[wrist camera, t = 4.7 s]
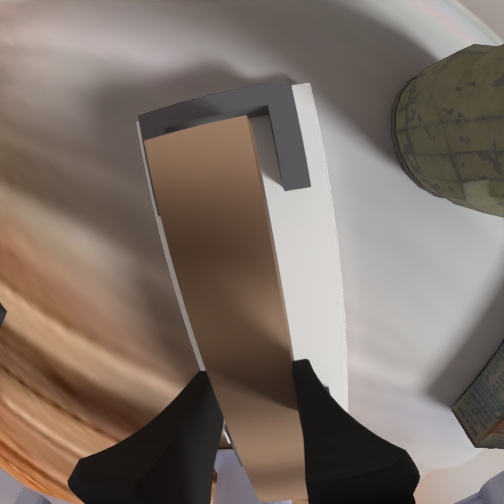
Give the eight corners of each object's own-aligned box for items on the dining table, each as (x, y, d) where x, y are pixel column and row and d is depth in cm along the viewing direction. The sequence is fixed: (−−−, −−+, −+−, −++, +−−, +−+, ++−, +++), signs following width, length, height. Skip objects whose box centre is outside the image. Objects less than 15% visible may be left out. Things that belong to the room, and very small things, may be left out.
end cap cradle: (344, 417, 23) (353, 456, 18) (230, 431, 24) (224, 470, 19) (306, 89, 16) (318, 66, 12) (145, 124, 17) (111, 115, 13)
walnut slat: (308, 457, 17) (311, 497, 14) (261, 462, 17) (259, 502, 14) (252, 127, 12) (246, 115, 8) (176, 144, 12) (144, 140, 9)
